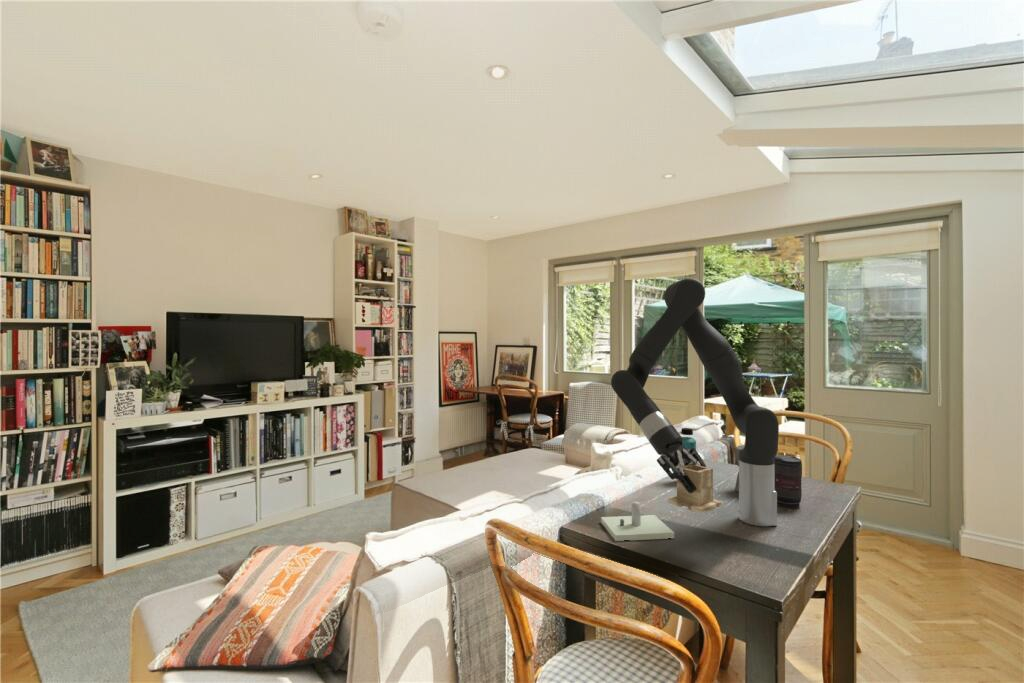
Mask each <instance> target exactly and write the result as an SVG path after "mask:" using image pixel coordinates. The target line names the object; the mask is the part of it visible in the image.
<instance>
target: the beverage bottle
mask: <svg viewBox="0 0 1024 683" xmlns="http://www.w3.org/2000/svg"><path fill="white" fill-rule="evenodd" d="M680 435H683V436H681V437H682V438H683V441H682V445H683V446H684V447H685V448H686V449H691V448H692V447H693V448H695V449H696V450H697V441H696V439H695V438H694V437H691V436H693V435H694V430H693V428H691V427H690V428H689V427H682V428H681V431H680ZM690 463H691V461H690ZM690 463H689V464H690Z"/></svg>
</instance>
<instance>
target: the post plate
mask: <svg viewBox="0 0 1024 683" xmlns="http://www.w3.org/2000/svg"><path fill="white" fill-rule="evenodd" d="M641 509H642V508H641V502H640V501H632V502H631V515H624V516H601V517H600V523H601V525H602V526H603V527H604V528H605V530H606V531H607V532H608V534H610V536H611V537H612V538H613V540H614V541H615V542H622V541H623V542H625V541H624V540H630V541H648V540H665V539H666V540H668V538H671V539H675V531H673V530H672V529H671V528H670V527H668V525H667V524H665V523H664V522H663V521H662V520H661V519H660V518H659V517H657V515H655V514H649V515H648V514H647V515H642V514H641V512H642V510H641Z"/></svg>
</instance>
